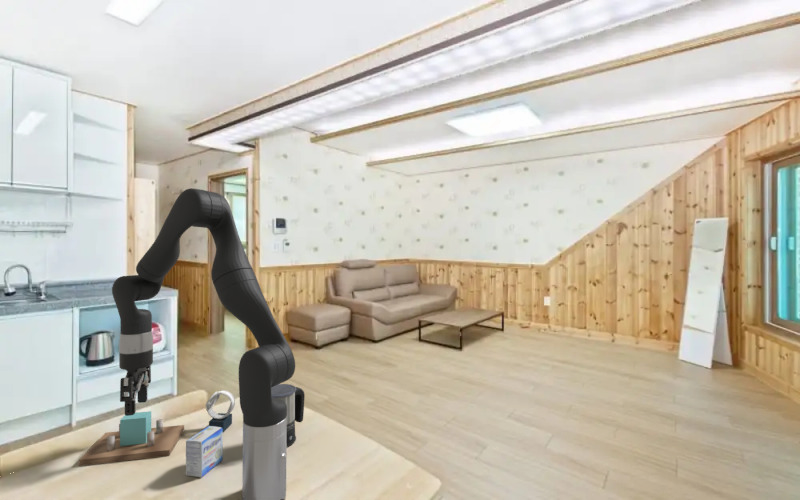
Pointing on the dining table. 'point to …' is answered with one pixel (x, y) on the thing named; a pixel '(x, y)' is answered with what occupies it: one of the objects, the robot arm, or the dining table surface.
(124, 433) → the block
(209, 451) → the medicine box
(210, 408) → the silver ring on block
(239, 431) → the dining table surface
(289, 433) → the milk frother
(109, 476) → the dining table surface
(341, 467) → the dining table surface
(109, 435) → the stub board
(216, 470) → the dining table surface
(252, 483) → the robot arm
